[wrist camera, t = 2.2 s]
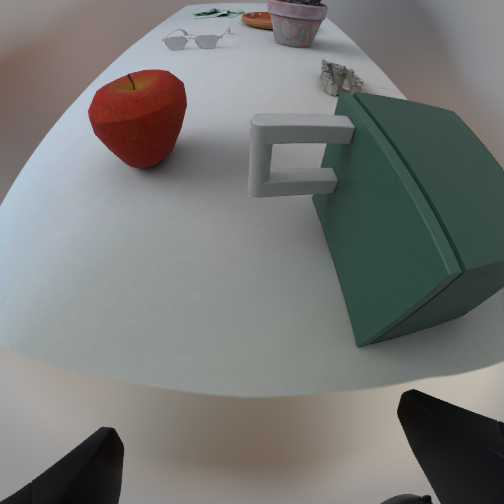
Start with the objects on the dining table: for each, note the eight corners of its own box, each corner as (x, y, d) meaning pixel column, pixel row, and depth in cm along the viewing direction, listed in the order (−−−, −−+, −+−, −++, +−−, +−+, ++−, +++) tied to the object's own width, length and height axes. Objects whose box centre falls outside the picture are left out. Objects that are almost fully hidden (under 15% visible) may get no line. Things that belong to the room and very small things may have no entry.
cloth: (250, 12, 90) (250, 7, 87) (224, 19, 79) (224, 14, 77) (209, 10, 94) (209, 5, 92) (180, 18, 83) (179, 13, 81)
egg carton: (360, 103, 44) (365, 84, 40) (319, 93, 44) (323, 74, 41) (354, 81, 49) (358, 64, 46) (319, 73, 50) (321, 56, 46)
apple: (173, 196, 30) (152, 96, 19) (94, 187, 30) (59, 104, 20) (204, 136, 35) (198, 52, 25) (134, 132, 36) (116, 58, 26)
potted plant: (247, 34, 65) (250, -39, 44) (309, 36, 68) (318, -32, 47) (263, 51, 56) (269, -40, 35) (336, 54, 59) (350, -27, 38)
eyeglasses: (162, 51, 57) (160, 38, 54) (183, 34, 67) (182, 23, 63) (221, 48, 57) (221, 34, 53) (233, 32, 66) (233, 21, 63)
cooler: (369, 344, 22) (467, 269, 11) (322, 198, 30) (353, 91, 19) (463, 315, 23) (549, 247, 12) (409, 195, 31) (454, 111, 20)
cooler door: (269, 364, 21) (302, 302, 10) (243, 202, 29) (245, 88, 18) (367, 345, 22) (462, 272, 11) (320, 197, 30) (350, 92, 19)
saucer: (228, 26, 72) (228, 16, 69) (261, 17, 83) (262, 9, 80) (292, 36, 66) (293, 25, 63) (317, 27, 77) (318, 19, 74)
